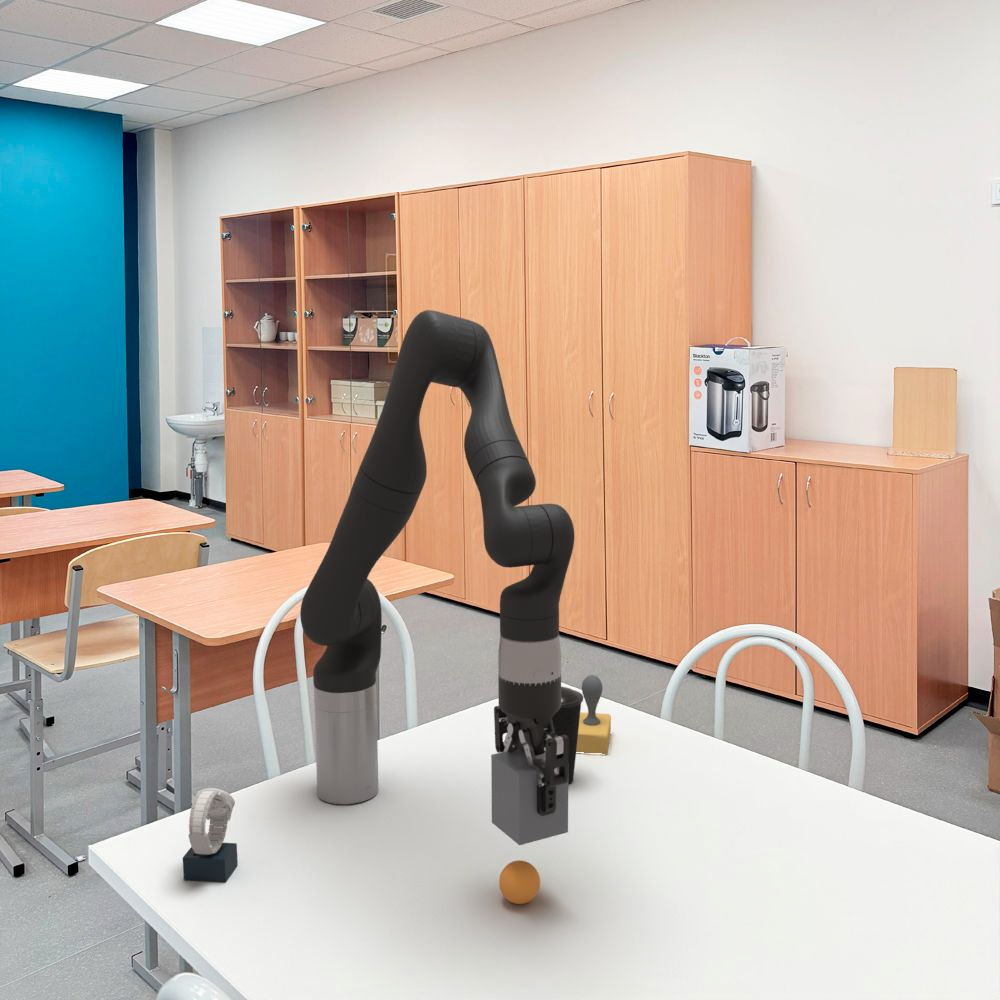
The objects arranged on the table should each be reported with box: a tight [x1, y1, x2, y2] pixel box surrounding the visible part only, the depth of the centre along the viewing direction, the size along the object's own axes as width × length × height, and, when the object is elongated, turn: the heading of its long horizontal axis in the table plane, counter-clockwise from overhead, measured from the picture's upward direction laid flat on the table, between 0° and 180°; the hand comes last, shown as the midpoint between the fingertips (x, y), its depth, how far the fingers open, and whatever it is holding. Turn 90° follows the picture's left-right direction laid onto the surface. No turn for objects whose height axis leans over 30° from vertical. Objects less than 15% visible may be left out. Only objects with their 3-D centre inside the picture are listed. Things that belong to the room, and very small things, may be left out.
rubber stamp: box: [576, 674, 612, 755], centre depth 176 cm, size 10×6×12 cm, turn 171°
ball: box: [498, 860, 541, 905], centre depth 128 cm, size 5×5×5 cm
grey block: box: [490, 750, 569, 846], centre depth 127 cm, size 7×7×9 cm
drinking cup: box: [552, 686, 584, 786], centre depth 161 cm, size 8×8×20 cm
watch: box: [182, 787, 239, 883], centre depth 134 cm, size 6×8×11 cm
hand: (530, 801), depth 127 cm, fingers closed on grey block, 7 cm apart
